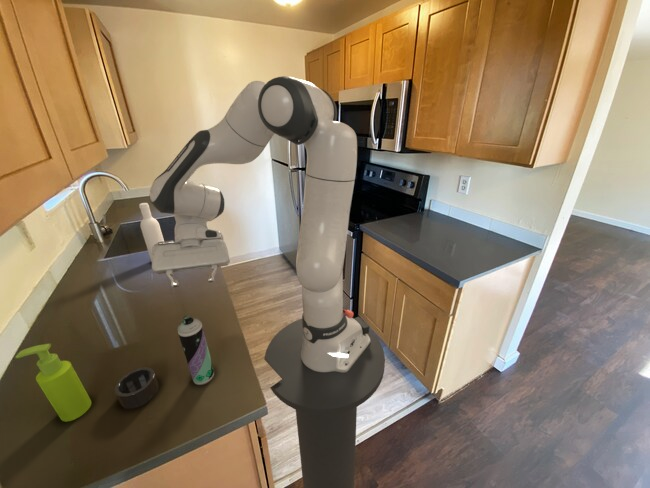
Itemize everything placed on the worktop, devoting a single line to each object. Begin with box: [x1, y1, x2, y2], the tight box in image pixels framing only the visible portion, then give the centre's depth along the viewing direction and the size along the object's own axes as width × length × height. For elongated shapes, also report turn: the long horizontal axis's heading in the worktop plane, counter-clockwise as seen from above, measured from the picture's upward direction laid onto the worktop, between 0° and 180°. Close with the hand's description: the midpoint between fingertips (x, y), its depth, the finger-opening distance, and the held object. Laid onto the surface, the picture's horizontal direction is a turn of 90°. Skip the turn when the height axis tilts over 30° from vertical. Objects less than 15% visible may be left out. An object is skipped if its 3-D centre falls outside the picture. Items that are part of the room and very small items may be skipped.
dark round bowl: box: [114, 367, 160, 410], centre depth 70 cm, size 8×8×4 cm
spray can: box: [177, 315, 215, 386], centre depth 71 cm, size 6×6×20 cm
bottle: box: [138, 202, 165, 263], centre depth 134 cm, size 8×8×30 cm
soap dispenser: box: [14, 343, 92, 423], centre depth 63 cm, size 6×7×20 cm
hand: (193, 284), depth 77 cm, fingers open, 8 cm apart
